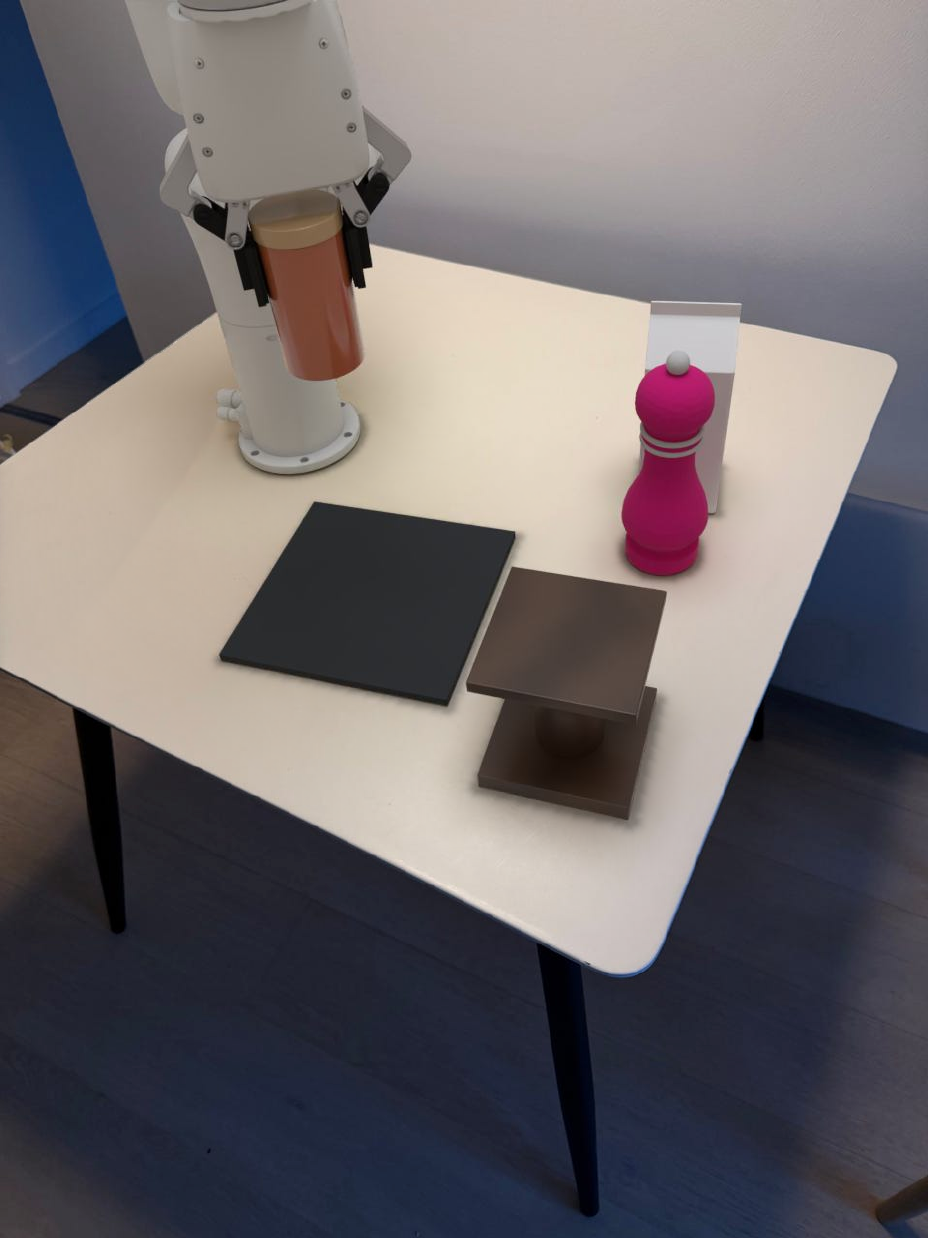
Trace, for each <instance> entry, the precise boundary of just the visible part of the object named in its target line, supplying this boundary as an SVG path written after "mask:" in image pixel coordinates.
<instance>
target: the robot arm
mask: <svg viewBox="0 0 928 1238" xmlns="http://www.w3.org/2000/svg"><path fill="white" fill-rule="evenodd" d="M124 3H125V6H126V8H127V9H126V10H127V11H128V15H129V18H130V21H131V24H132V28H133V29H134V32H135V36H136V38H137V41H138V44H139V46H140V50H141V53H142V55H143V58H144V62H145V64H146V67H147V70H148V71H149V74H150V77H151V79H152V82H153V85H154V87H155V89H156V91H157V93H158V95H159V96H160V98H161V99H162V101H163V102H164V104H165V105H166V106H167V107H168V108H169V109H170V110H171V111H172V112H175V113H176V114H177V115H181V116H183V120H184V125H185V128H184V129H182V130H180V131H179V132H178V133H177V134H176V135H175V136H174V137H173V138H172V139H171V141H170V142H169V144H168V146H167V148H166V151H165V155H164V170H165V174H164V177H163V179H162V181H161V183H159V184H160V185H159V199H160V201H161V202H162V203H163V204H164V205H166V206H167V207H169V208H171V209H172V210H175V211H176V212H177V213H180V215H181V218H182V221H183V222H184V225H185V227H186V229H187V231H188V234H189V236H190V238H191V241H192V242H193V246H194V248H195V251H196V253H197V255H198V258H199V260H200V263H201V267H202V270H203V272H204V275H205V279H206V281H207V283H208V284H207V285H208V287H209V290H210V294H211V297H212V301H213V303H214V308H215V312H216V314H217V317H218V320H219V325H220V328H221V331H222V335H223V338H224V342H225V346H226V348H227V351H228V356H229V359H230V362H231V367H232V369H233V373H234V377H235V380H236V383H237V386H238V390H239V391H238V390H237V389H236V390H234V389H226V388H219V389H218V390H217V392H216V397H215V400H216V405H217V406H218V408H217V410H216V417H217V419H218V420H220V421H227V422H236V423H237V424H238V425H240V430H239V433H238V445H239V447H240V448H239V449H240V451H241V454H242V456H243V457H244V459H245V460H246V461H247V462H248V463H249V464H250V465H251V466H253V467H255V468H256V469H259V470H262V471H264V472H268V473H273V474H280V475H283V474H284V475H296V474H305V473H309V472H313V471H317V470H319V469H322V468H326V467H327V466H330V465H332V464H334V463H335V462H337V461H339V460H341V459H342V458H343V457H345V456H346V455H347V454H348V453H349V452H350V451H352V449H353V448H354V446H356V444H357V442H358V441H359V438H360V435H361V429H362V428H361V422H360V417H359V415H358V412H357V410H355V408H354V407H353V405H351V404H350V403H349V402H347V401H345V400H343V399H341V398H340V392H339V388H338V382H337V378H336V379H332V380H326V381H308V380H303V379H299V378H297V377H295V376H293V375H292V374H290V373H289V372H288V370H287V369H286V366H285V362H284V358H283V354H282V350H281V346H280V342H279V338H278V334H277V329H276V325H275V321H274V317H273V313H272V309H271V305H270V301H269V297H268V293H267V289H266V284H265V280H264V276H263V272H262V268H261V264H260V260H259V256H258V252H257V248H256V244H255V240H254V239H253V237H252V234H251V230H250V226H249V222H248V215H249V211H250V209H251V208H252V207H253V206H254V205H255V204H256V203H258V202H259V201H261V200H262V199H264V198H270V197H276V196H282V195H287V194H293V193H299V192H304V191H310V190H316V189H317V190H323V191H327V192H330V193H332V194H334V195H335V196H336V197H337V198H338V199H339V200H340V203H341V209H342V215H343V220H344V222H343V230H344V235H345V241H346V247H347V252H348V258H349V264H350V269H351V275H352V281H353V287H354V288H357V289H358V290H361V289H366V288H367V284H366V278H365V272H364V270H366V269H371V268H374V267H373V259H372V253H371V247H370V239H369V232H368V227H367V226H368V225H369V224H370V222H371V216H372V215H373V213H374V212H375V210H376V209H377V207H378V206H379V204H380V203H381V202H382V201H383V200H384V198H385V196H386V195H387V193H388V192H389V190H390V186H391V185H392V184H393V182H394V181H396V180H397V179H398V177H399V176H400V174H401V173H402V172H403V171H404V170H405V168H406V167H407V166H408V164H410V162H411V160H412V152H411V149H410V148H409V146H408V144H407V142H406V141H404V140H403V138H402V137H400V136H399V135H398V134H396V133H395V132H394V131H393V130H391V129H390V128H389V127H388V126H387V125H386V124H385V123H384V122H382V121H381V120H380V119H379V118H378V117H376V116H375V115H374V114H373V113H372V112H370V111H369V110H368V109H367V108H366V107H364V106H363V104H362V101H361V95H360V89H359V85H358V79H357V76H356V72H355V71H356V70H355V66H354V62H353V57H352V52H351V49H350V45H349V42H348V38H347V35H346V31H345V26H344V22H343V17H342V14H341V10H340V7H339V4H338V1H337V0H124ZM375 150H376V151H377V152H379V153H380V155H379V156H378V158H377V155H376V151H375Z"/></svg>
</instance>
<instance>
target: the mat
mask: <svg viewBox="0 0 928 1238" xmlns="http://www.w3.org/2000/svg"><path fill="white" fill-rule="evenodd" d="M516 538H517V537H516V531H515V530H508V529H502V528H495V527H490V526H481V525H476V524H469V523H461V522H455V521H450V520H449V521H448V520H440V519H436V518H429V517H423V516H415V515H410V514H402V513H395V512H388V511H383V510H375V509H370V508H369V509H368V508H363V507H355V506H348V505H342V504H335V503H328V502H321V501H315V500H314V501H313V502H312V504H311V506H310V507H309V509H308V511H307V512H306V513H305V515H304V517H303V518H302V520H301V522H300V523H299V525H298V526H297V528H296V530H295V531H294V533H293V535H292V536H291V538H290V539H289V541H288V543H287V544H286V546H285V547H284V549H283V550H282V552H281V554H280V556H279V557H278V558H277V560H276V562H275V563H274V565H273V566H272V568H271V570H270V571H269V573H268V574H267V576H266V578H265V579H264V581H263V582H262V584H261V586H260V587H259V590H258V591H257V592H256V593H255V596H254V597H253V599H252V601H251V602H250V604H249V605H248V607H247V608H246V610H245V612H244V613H243V615H242V617H241V618H240V620H239V621H238V623H237V625H236V626H235V628H234V629H233V631H232V633H231V634H230V635H229V637H228V639H227V640H226V641H225V642H226V643H225V644H224V645H223V647H222V649H221V650H220V652H219V654H218V656H219V659H220V661H222V662H226V663H232V664H236V665H241V666H245V667H252V668H257V669H260V670H266V671H272V672H276V673H281V674H286V675H291V676H297V677H301V678H306V679H311V680H316V681H320V682H325V683H330V684H336V685H341V686H346V687H351V688H356V689H361V690H366V691H371V692H376V693H381V694H385V695H390V696H395V697H400V698H405V699H410V700H414V701H415V700H416V701H421V702H425V703H430V704H434V705H440V706H445V707H447V706H448V705H449V704H450V701H451V700H452V699H451V698H452V696H453V693H454V691H455V688H456V686H457V684H458V681H459V679H460V677H461V674H462V671H463V669H464V666H465V664H466V661H467V659H468V656H469V654H470V653H471V652H470V651H471V649H472V646H473V645H474V642H475V639H476V637H477V634H478V632H479V629H480V627H481V625H482V622H483V619H484V617H485V616H486V615H485V614H486V612H487V609H488V607H489V604H490V601H491V600H492V597H493V595H494V592H495V591H496V587H497V585H498V582H499V580H500V577H501V575H502V572H503V570H504V568H505V565H506V562H507V561H508V557H509V556H510V553H511V551H512V548H513V545H514V543H515V540H516Z"/></svg>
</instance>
